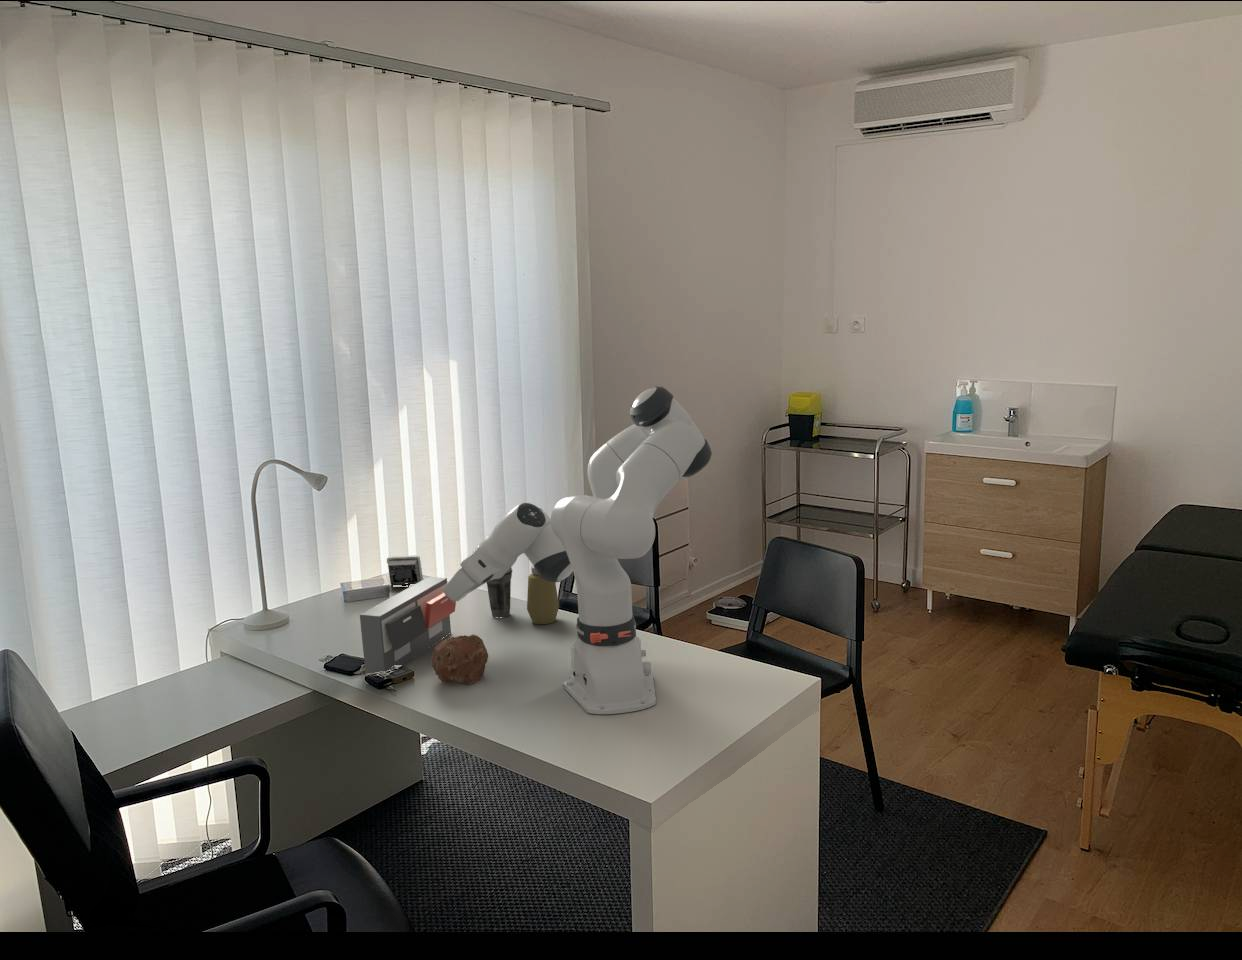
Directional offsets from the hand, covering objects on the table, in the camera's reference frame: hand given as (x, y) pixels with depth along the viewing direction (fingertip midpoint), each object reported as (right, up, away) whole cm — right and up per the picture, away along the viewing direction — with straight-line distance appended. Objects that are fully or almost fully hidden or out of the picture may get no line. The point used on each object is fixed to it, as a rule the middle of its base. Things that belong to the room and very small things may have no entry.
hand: (457, 597), depth 216 cm
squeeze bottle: (+19, -8, +16) cm, 26 cm away
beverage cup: (+7, -7, +21) cm, 24 cm away
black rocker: (-8, -8, -12) cm, 16 cm away
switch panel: (-10, -13, -2) cm, 17 cm away
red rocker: (-4, -5, +1) cm, 7 cm away
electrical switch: (-23, -3, +49) cm, 55 cm away
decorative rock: (+4, -15, -18) cm, 24 cm away
